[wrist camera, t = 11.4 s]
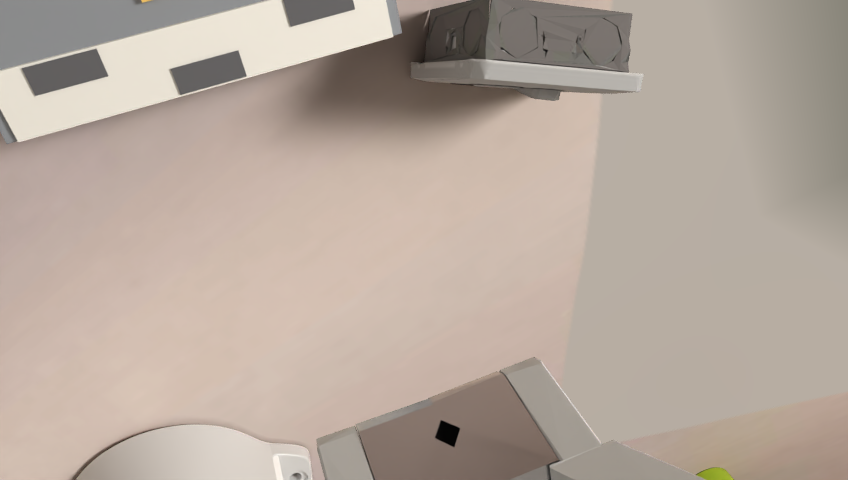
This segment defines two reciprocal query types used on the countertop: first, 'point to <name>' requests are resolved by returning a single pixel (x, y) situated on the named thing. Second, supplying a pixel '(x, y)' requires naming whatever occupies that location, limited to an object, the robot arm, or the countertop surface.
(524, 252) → the countertop surface
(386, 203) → the countertop surface
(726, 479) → the soap dispenser
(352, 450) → the robot arm
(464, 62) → the electrical switch
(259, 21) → the switch unit
